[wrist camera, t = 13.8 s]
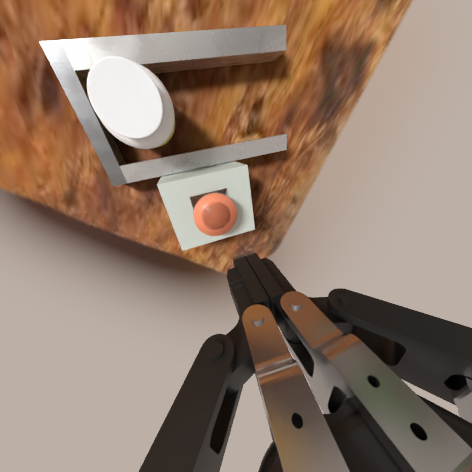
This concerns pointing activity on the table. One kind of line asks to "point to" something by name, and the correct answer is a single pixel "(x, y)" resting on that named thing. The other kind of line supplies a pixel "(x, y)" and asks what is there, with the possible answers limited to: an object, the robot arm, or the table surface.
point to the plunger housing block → (197, 185)
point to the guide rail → (163, 61)
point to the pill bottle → (131, 102)
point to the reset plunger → (215, 214)
